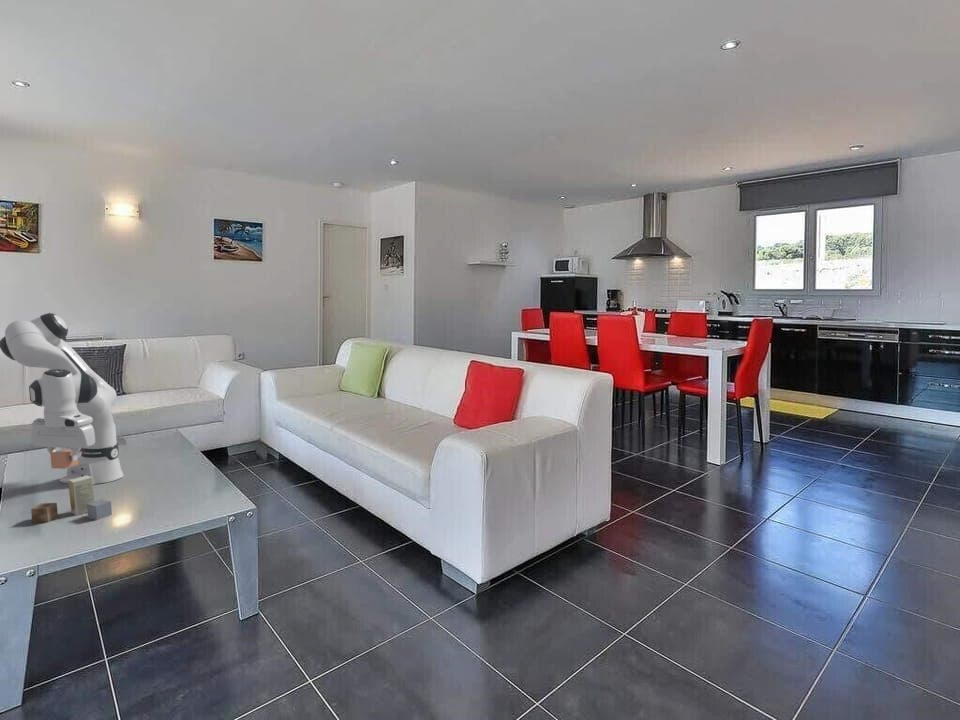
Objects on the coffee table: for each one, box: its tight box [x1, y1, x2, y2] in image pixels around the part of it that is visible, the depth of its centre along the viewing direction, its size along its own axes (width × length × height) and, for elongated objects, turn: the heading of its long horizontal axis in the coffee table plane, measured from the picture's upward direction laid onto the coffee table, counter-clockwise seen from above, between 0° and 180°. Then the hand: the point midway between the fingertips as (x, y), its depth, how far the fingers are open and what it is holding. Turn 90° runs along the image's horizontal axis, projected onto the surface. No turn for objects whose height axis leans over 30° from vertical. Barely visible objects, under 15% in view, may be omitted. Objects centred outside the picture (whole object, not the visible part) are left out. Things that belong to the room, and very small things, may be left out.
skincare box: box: [67, 475, 96, 516], centre depth 195 cm, size 6×4×12 cm
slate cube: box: [86, 498, 113, 521], centre depth 192 cm, size 5×5×5 cm
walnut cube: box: [30, 502, 59, 524], centre depth 189 cm, size 5×5×5 cm
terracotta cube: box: [49, 448, 79, 470], centre depth 183 cm, size 5×5×5 cm
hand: (64, 459), depth 183 cm, fingers closed on terracotta cube, 5 cm apart
